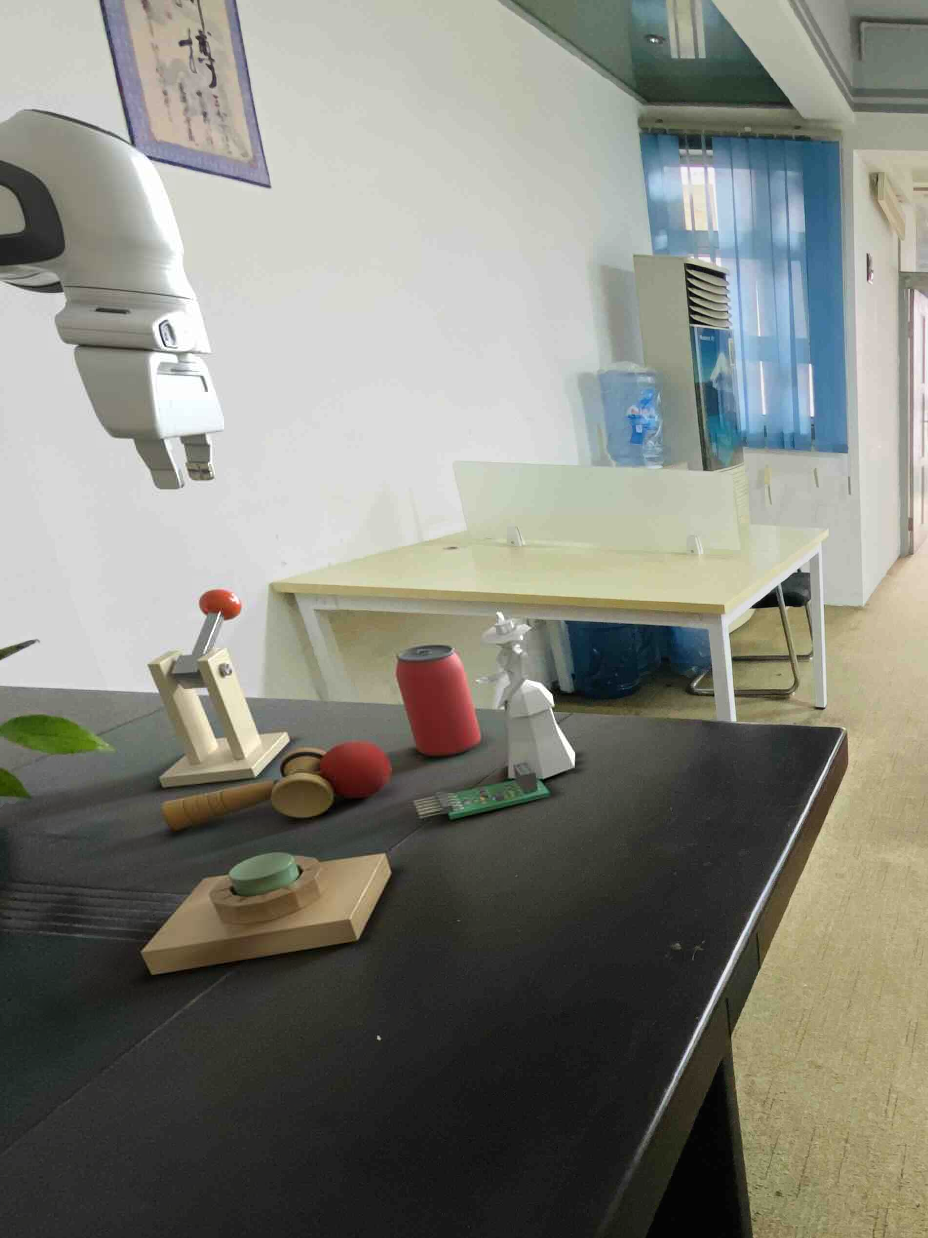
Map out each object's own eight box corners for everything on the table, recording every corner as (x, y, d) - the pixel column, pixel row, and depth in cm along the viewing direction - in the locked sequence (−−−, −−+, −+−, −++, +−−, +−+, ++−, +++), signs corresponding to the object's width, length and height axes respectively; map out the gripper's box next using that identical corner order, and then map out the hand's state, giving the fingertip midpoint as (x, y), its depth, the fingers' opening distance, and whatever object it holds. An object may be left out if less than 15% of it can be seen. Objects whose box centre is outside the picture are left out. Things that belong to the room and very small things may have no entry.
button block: (151, 975, 60) (129, 932, 59) (213, 899, 69) (195, 860, 67) (357, 941, 65) (343, 900, 63) (391, 873, 73) (379, 835, 71)
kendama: (174, 863, 75) (396, 795, 83) (138, 802, 73) (369, 739, 81) (199, 837, 82) (403, 777, 90) (167, 781, 80) (379, 724, 88)
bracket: (206, 748, 94) (164, 644, 89) (290, 740, 97) (253, 638, 91) (162, 787, 86) (112, 674, 80) (255, 777, 88) (212, 667, 83)
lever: (213, 607, 95) (196, 583, 92) (251, 605, 96) (235, 581, 93) (178, 694, 86) (159, 670, 84) (220, 690, 88) (202, 667, 85)
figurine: (490, 774, 91) (449, 617, 84) (553, 749, 97) (520, 601, 90) (531, 785, 88) (493, 624, 81) (594, 759, 94) (563, 607, 88)
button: (227, 902, 63) (218, 883, 62) (248, 874, 66) (241, 856, 66) (289, 893, 64) (282, 874, 63) (307, 866, 68) (300, 848, 67)
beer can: (465, 731, 101) (442, 639, 96) (493, 744, 98) (470, 650, 93) (407, 748, 96) (379, 652, 91) (434, 764, 93) (406, 665, 88)
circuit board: (416, 801, 79) (407, 782, 82) (423, 829, 80) (413, 810, 83) (546, 773, 86) (533, 757, 89) (550, 799, 87) (537, 782, 90)
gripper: (140, 333, 82) (182, 475, 87) (42, 317, 66) (101, 494, 71) (221, 339, 85) (257, 476, 90) (147, 326, 68) (196, 494, 73)
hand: (188, 484), depth 80 cm, fingers open, 8 cm apart
